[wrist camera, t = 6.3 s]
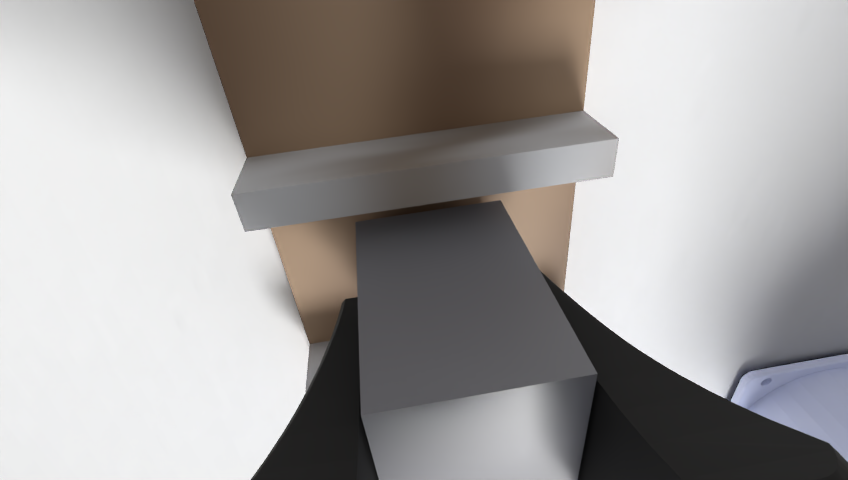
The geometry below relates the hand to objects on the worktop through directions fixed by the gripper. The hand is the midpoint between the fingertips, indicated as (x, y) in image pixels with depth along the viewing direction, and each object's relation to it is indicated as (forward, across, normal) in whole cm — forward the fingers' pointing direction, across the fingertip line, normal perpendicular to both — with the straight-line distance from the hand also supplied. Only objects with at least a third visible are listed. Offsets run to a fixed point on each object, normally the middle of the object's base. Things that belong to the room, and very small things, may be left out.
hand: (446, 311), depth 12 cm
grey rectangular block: (+2, 0, 0) cm, 2 cm away
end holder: (+3, 0, 0) cm, 3 cm away
